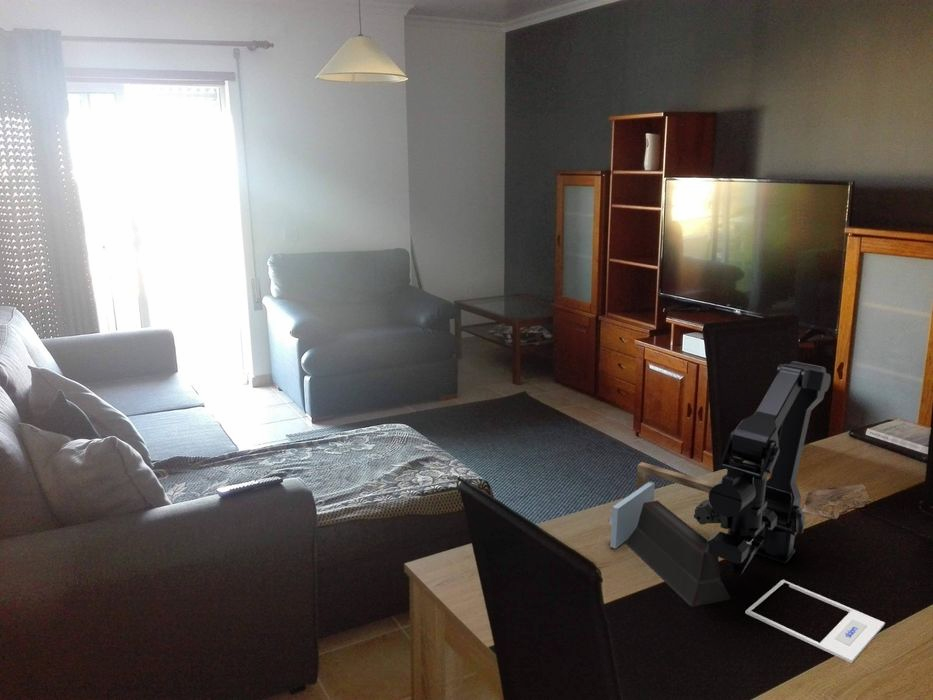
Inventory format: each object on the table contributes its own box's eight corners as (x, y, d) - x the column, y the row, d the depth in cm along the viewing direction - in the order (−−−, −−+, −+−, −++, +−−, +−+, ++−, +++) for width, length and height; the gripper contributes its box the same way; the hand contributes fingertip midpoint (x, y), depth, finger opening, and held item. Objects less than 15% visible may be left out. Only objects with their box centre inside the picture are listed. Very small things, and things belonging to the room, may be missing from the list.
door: (641, 516, 166) (644, 479, 164) (651, 520, 165) (655, 482, 162) (604, 544, 154) (606, 504, 152) (615, 548, 153) (618, 508, 150)
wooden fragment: (826, 524, 164) (826, 520, 164) (781, 505, 173) (782, 501, 173) (890, 497, 178) (890, 493, 178) (846, 480, 187) (846, 476, 187)
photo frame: (852, 659, 120) (745, 609, 132) (851, 665, 120) (744, 615, 133) (885, 621, 129) (782, 578, 142) (884, 627, 130) (782, 583, 142)
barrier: (731, 600, 137) (737, 551, 134) (690, 608, 134) (695, 559, 132) (660, 537, 158) (664, 494, 156) (624, 544, 156) (627, 500, 153)
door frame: (739, 548, 154) (745, 492, 151) (735, 552, 152) (742, 496, 149) (638, 513, 168) (641, 461, 165) (633, 516, 167) (637, 464, 164)
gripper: (723, 467, 146) (716, 539, 150) (681, 500, 132) (674, 578, 136) (782, 483, 139) (772, 558, 143) (744, 520, 125) (735, 602, 129)
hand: (738, 573), depth 138 cm, fingers closed
